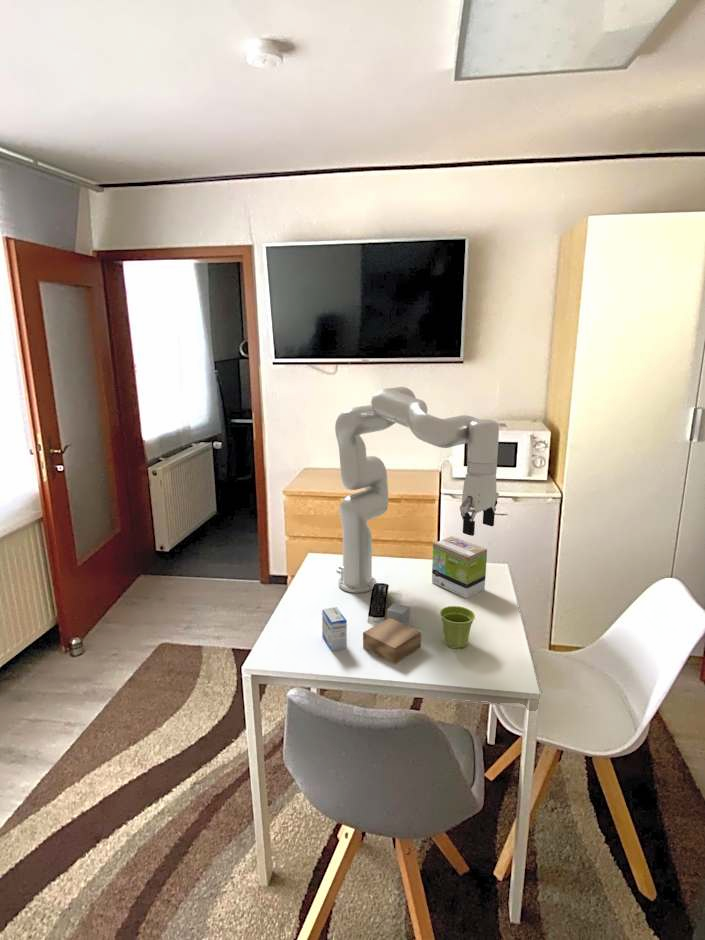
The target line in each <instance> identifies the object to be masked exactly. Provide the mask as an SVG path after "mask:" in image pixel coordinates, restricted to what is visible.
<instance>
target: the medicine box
mask: <svg viewBox="0 0 705 940" xmlns="http://www.w3.org/2000/svg"><path fill="white" fill-rule="evenodd" d="M321 611H322V613H321V615H322V617H321V619H322V622H321V623H322V625H321V628H322V630H321V631H322V632H321V633H322V634H321V635H322V638H323V640H324V641H325V643H326V645H327V646H328V647H329V649H330V651H332V652H335V651H340V650H343V649H344V650H345V649H347V646H348V645H347V644H348V640H347V639H348V637H347V634H348V632H347V629H348V626H347V625H348V624H347V623H348V622H347V618H346V617H344V615H343V614H342V612H341V611H340V610H339V608H338V607H336V606H335V607H334V606H333V607H328V608H324V609H321Z"/></svg>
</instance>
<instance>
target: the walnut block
mask: <svg viewBox="0 0 705 940" xmlns="http://www.w3.org/2000/svg"><path fill="white" fill-rule="evenodd" d="M362 642H363V643H362V648H363V649H364V650H366V651H368V652H370V653H372V654H374V655H376V656H378V657H380V658H381V659H384V660H385V661H387V662H389V663H391V664H393V665H396V664H398V663H399V662H401V661H402V660H403V659H405V658H407V657H408V656H410V655H411V654H413V653H414V652H416V651H418V650H419V649H420V648H421V645H422V631H420V630H419V629H416V628H414V627H413V626H409V625H408V624H407V625H405V624H403V623H401V622H398V621H396V620H394V619H392V618H388V619H387V618H386V619H385V620H382V621H381V622H379V623H377V624H375V625H374V626H372V627H371V628H369V629H366V630H365V631H364V632H362Z"/></svg>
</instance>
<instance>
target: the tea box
mask: <svg viewBox="0 0 705 940" xmlns="http://www.w3.org/2000/svg"><path fill="white" fill-rule="evenodd" d="M487 557H488V548H485V547H482V546H480V545H477V544H473V543H471V542H468V541H466V540H463V539H461V538H458V537H455V536H450V537H447V538H444V539H441V540H438V541H437V542H433V543H432V562H431V563H432V564H431V565H432V570H431V582H432V584H435V585H436V586H439V587H441V588H443V589H445V590H448V591H450V592H452V593H454V594H456V595H457V596H460V597H462V598H464V599H468V598H471V597H473V596H475V595H476V594H478V593H481V592H482V591H485V586H486V574H487V561H488V560H487Z"/></svg>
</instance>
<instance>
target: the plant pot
mask: <svg viewBox="0 0 705 940" xmlns="http://www.w3.org/2000/svg"><path fill="white" fill-rule="evenodd" d="M439 616H440V619H441V622H442V630H443V641H444V643H445V644H446V646H447V647H449V648H453V649H459V648H465V647H466V646H467V645H468V641H469V636H470V632H471V628H472V624H473V622H474V620H475V618H476V614H475V612H474V611H473V610H471V609H469V608H468V607H463V606H458V605H451V606H450V605H449V606H445V607H442V608H441V609H440V610H439Z"/></svg>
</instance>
